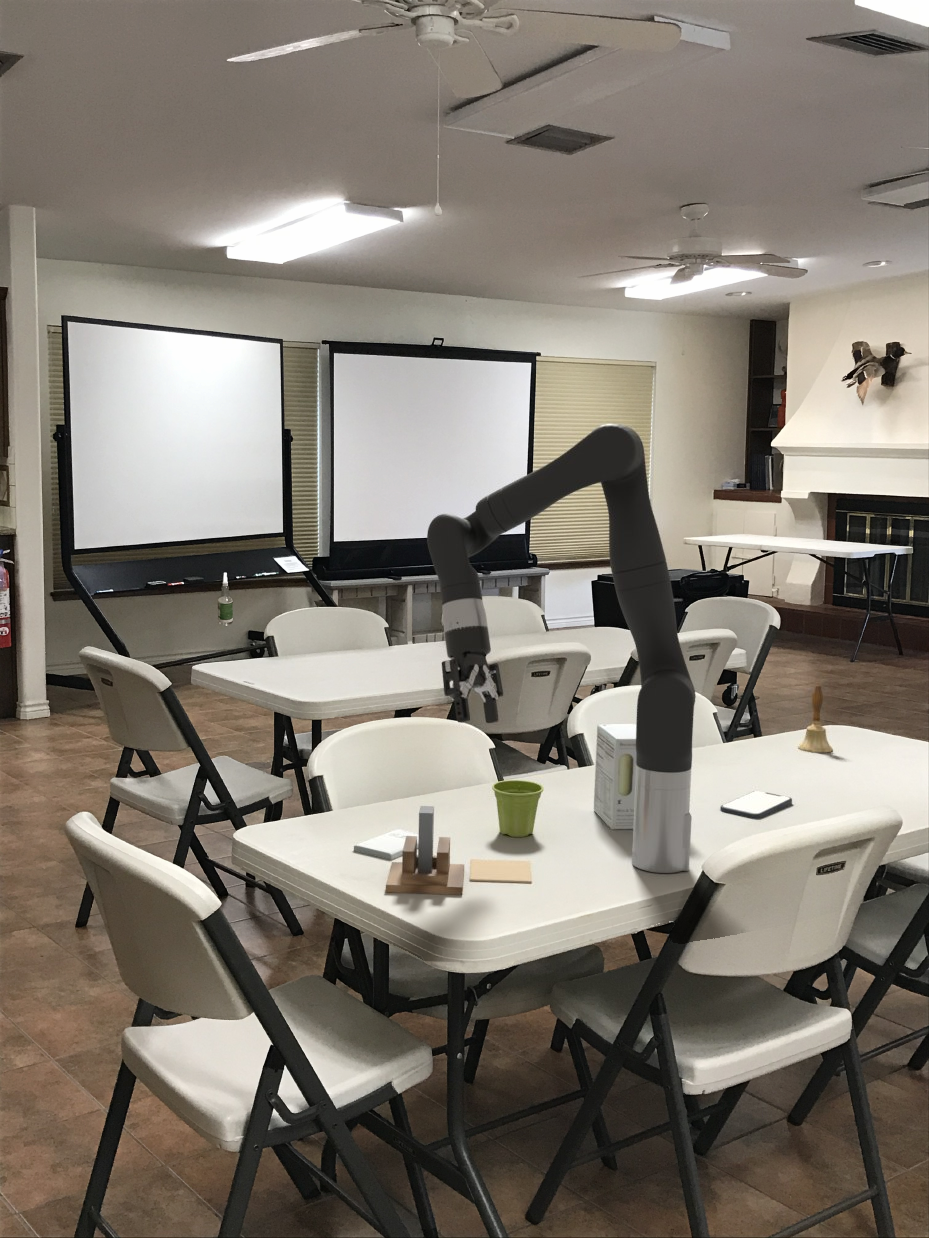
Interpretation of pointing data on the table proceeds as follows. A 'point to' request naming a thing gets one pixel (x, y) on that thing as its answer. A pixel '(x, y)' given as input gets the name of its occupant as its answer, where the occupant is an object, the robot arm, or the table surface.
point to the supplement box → (615, 774)
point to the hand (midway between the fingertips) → (478, 722)
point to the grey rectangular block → (425, 839)
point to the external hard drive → (386, 844)
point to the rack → (439, 882)
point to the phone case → (756, 804)
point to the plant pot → (517, 806)
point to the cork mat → (500, 871)
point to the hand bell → (816, 728)
